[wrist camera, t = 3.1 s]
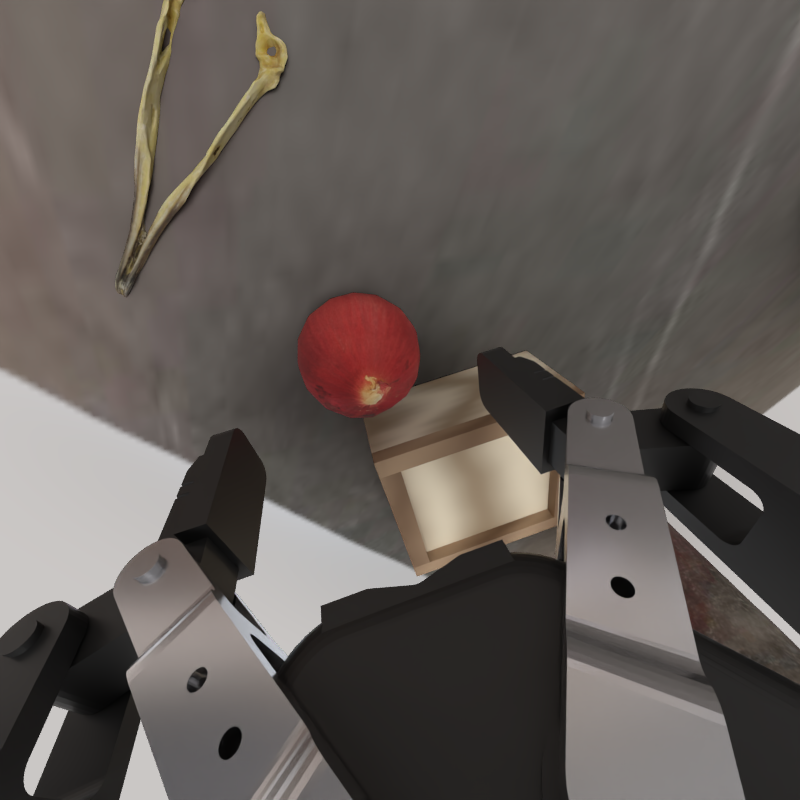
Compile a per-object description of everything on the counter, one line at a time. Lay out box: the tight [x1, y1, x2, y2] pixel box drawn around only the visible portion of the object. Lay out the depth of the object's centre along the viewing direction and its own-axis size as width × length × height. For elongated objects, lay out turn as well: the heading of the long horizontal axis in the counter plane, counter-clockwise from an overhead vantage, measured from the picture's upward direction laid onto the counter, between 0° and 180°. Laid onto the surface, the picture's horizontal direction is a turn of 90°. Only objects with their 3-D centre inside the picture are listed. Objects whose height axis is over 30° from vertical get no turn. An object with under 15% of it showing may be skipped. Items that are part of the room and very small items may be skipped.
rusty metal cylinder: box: [556, 522, 800, 684], centre depth 24 cm, size 8×7×20 cm
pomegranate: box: [298, 292, 420, 418], centre depth 15 cm, size 6×6×8 cm
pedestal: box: [363, 351, 585, 576], centre depth 23 cm, size 12×12×6 cm
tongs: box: [115, 0, 288, 297], centre depth 14 cm, size 4×13×2 cm, turn 148°
